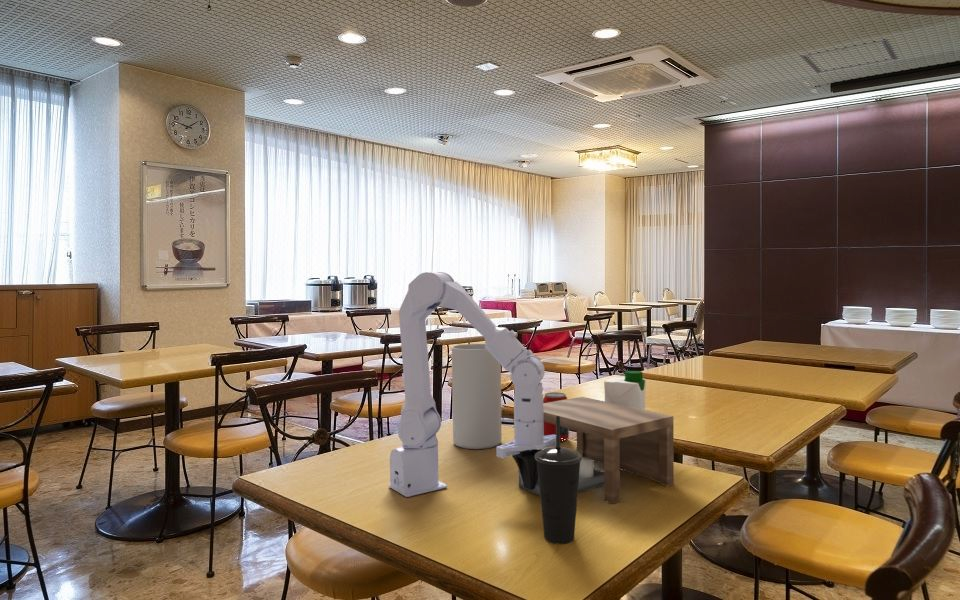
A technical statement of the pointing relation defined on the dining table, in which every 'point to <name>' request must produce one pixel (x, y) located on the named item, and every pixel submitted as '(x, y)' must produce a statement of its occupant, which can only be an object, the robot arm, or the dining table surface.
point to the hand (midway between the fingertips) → (529, 487)
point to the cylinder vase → (476, 397)
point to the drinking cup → (558, 489)
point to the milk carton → (626, 390)
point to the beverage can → (549, 427)
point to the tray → (582, 482)
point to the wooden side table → (618, 439)
